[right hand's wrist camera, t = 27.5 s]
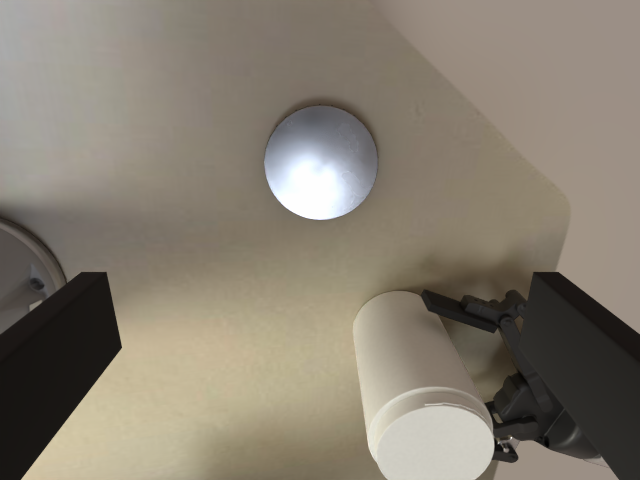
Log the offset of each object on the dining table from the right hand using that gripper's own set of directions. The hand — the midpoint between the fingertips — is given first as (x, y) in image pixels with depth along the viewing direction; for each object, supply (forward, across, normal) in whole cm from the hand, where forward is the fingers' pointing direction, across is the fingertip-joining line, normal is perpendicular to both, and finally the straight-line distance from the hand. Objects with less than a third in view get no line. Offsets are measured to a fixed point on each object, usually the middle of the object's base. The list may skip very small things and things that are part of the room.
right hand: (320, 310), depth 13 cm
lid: (+26, 0, 0) cm, 26 cm away
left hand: (+21, +7, -18) cm, 28 cm away
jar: (+27, +8, -18) cm, 34 cm away
